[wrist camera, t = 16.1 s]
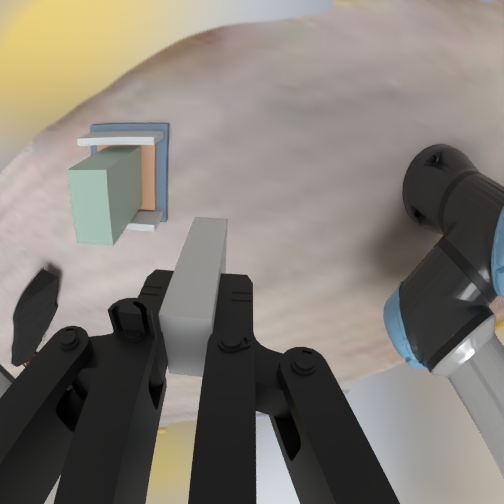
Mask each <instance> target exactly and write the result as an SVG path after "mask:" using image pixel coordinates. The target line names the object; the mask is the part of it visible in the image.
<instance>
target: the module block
mask: <svg viewBox="0 0 504 504" xmlns="http://www.w3.org/2000/svg"><path fill="white" fill-rule="evenodd" d="M67 173H68V183H69V192H70V200H71V208H72V215H73V221H74V228H75V233H76V239H77V243H85V244H97V245H108V246H114V244H115V243H116V241H117V240H118V238H119V237H120V235H121V234H122V232H123V231H124V230H125V228H126V227H127V225H128V224H129V222H130V221H131V220H132V218H133V217H134V215H135V214H136V213H137V211H138V210H139V209H140V207H141V206H142V184H141V145H116V146H108V147H106V148H104V149H102V150H100V151H99V152H97V153H95V154H93V155H92V156H90V157H88V158H86V159H85V160H83V161H81V162H80V163H78V164H76V165H75V166H73V167H72V168H70V169H68V170H67Z"/></svg>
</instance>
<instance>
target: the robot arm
mask: <svg viewBox="0 0 504 504" xmlns="http://www.w3.org/2000/svg"><path fill="white" fill-rule="evenodd" d="M403 200H404V204H405V208H406V210H407V212H408V214H409V215H410V216H411V218H412V219H413V220H414V221H415V222H416V223H417V224H419V225H420V226H421V227H423V228H424V229H427V230H429V231H432V232H436V233H439V234H442V235H443V237H442V238H441V239H440V240H439V242H438V243H437V244H436V245H435V246H434V247H433V249H432V250H431V251H430V252H429V253H428V255H427V256H426V257H425V258H424V259H423V260H422V261H421V263H420V264H419V265H418V266H417V267H416V268H415V269H414V270H413V271H412V273H411V274H410V275H409V276H408V277H407V278H406V279H405V280H404V281H402V282H401V283H400V284H399V286H398V288H397V290H396V291H395V292H394V293H393V294H392V295H391V296H390V298H389V299H388V300H387V301H386V303H385V306H384V314H383V317H384V323H385V327H386V330H387V333H388V335H389V337H390V339H391V341H392V343H393V345H394V347H395V348H396V350H397V352H398V353H399V354H400V356H401V357H402V358H405V360H406V362H407V363H408V364H409V365H410V366H411V367H413V368H415V369H424V368H426V367H427V368H428V370H429V371H430V373H431V374H432V375H436V376H444V377H446V378H448V380H449V381H450V383H451V385H452V386H453V388H454V389H455V391H456V392H457V394H458V396H459V397H460V399H461V401H462V402H463V404H464V405H465V407H466V409H467V410H468V412H469V414H470V416H471V417H472V419H473V421H474V422H475V424H476V426H477V428H478V430H479V431H480V433H481V435H482V437H483V439H484V440H485V442H486V444H487V446H488V448H489V450H490V452H491V454H492V455H493V458H494V459H495V461H496V463H497V465H498V467H499V469H500V471H501V473H502V476H503V477H504V346H503V345H502V343H501V342H500V341H499V339H498V338H497V336H496V334H495V323H496V316H495V314H494V313H493V312H492V311H491V309H490V308H489V305H490V303H491V302H492V301H493V300H494V299H495V298H496V297H497V296H498V295H499V296H502V297H504V186H502V185H500V184H499V183H497V182H495V181H494V180H492V179H490V178H488V177H487V176H485V175H483V174H481V173H480V172H479V171H478V170H477V169H476V167H475V166H474V165H473V164H472V162H471V161H470V160H469V159H468V157H467V156H466V155H465V154H463V153H462V152H461V151H459V150H457V149H455V148H453V147H451V146H448V145H434V146H431V147H428V148H427V149H425V150H423V151H422V152H421V153H420V154H419V155H418V156H417V157H416V158H415V159H414V160H413V162H412V163H411V165H410V167H409V169H408V171H407V173H406V176H405V180H404V185H403ZM227 221H228V219H219V218H201V217H195V218H194V221H193V223H192V226H191V228H190V231H189V233H188V236H187V239H186V241H185V244H184V246H183V249H182V251H181V254H180V257H179V259H178V262H177V265H176V267H175V270H174V271H169V270H155V271H154V272H152V273H151V274H150V275H149V276H148V277H147V279H146V281H145V283H144V285H143V287H142V289H141V292H140V295H139V296H138V298H126V299H122V300H119V301H117V302H116V303H114V304H112V305H111V307H110V308H109V309H108V313H109V316H110V320H111V323H112V326H113V330H114V332H113V333H112V334H108V335H102V336H92V337H89V336H88V334H87V332H86V331H85V330H84V329H83V328H81V327H77V326H68V327H65V328H63V329H60V330H59V331H58V332H57V333H55V334H54V335H53V336H52V338H51V339H50V340H49V341H48V342H47V343H46V344H45V345H44V347H43V348H42V349H41V350H40V351H39V352H38V353H37V354H36V356H35V357H34V358H33V359H32V360H31V361H30V363H29V364H28V365H27V366H26V367H25V369H24V370H23V371H22V372H21V373H20V375H19V376H18V377H17V378H16V379H15V381H14V382H13V383H12V384H11V386H10V387H9V388H8V389H7V391H6V392H5V393H4V394H3V396H2V397H1V398H0V504H44V502H45V500H46V499H47V497H48V495H49V494H50V492H51V490H52V488H53V487H54V485H55V483H56V482H57V480H58V478H59V476H60V475H61V477H60V481H59V485H58V488H57V492H56V496H55V500H54V504H145V503H146V496H147V489H148V483H149V477H150V471H151V465H152V459H153V453H154V448H155V442H156V436H157V431H158V426H159V421H160V416H161V411H162V406H163V401H164V396H165V392H166V387H167V386H166V377H165V374H166V369H167V365H168V369H169V373H172V374H180V375H190V376H200V377H203V379H202V387H201V394H200V402H199V410H198V418H197V426H196V435H195V443H194V452H193V461H192V470H191V480H190V490H189V500H188V504H256V411H259V412H262V413H265V414H268V415H269V417H270V420H271V423H272V426H273V429H274V431H275V435H276V437H277V440H278V443H279V446H280V449H281V452H282V455H283V457H284V460H285V463H286V466H287V469H288V471H289V474H290V477H291V480H292V483H293V485H294V488H295V490H296V493H297V496H298V499H299V501H300V504H400V503H399V501H398V499H397V497H396V495H395V493H394V491H393V489H392V487H391V485H390V483H389V481H388V479H387V477H386V475H385V473H384V472H383V469H382V467H381V465H380V463H379V461H378V459H377V457H376V455H375V453H374V451H373V450H372V448H371V446H370V444H369V442H368V440H367V438H366V436H365V434H364V432H363V430H362V428H361V427H360V424H359V422H358V421H357V419H356V417H355V415H354V413H353V411H352V409H351V407H350V405H349V403H348V401H347V399H346V398H345V396H344V394H343V392H342V390H341V388H340V386H339V384H338V382H337V381H336V379H335V377H334V375H333V373H332V371H331V369H330V367H329V365H328V364H327V362H326V360H325V359H324V357H323V356H322V355H321V354H320V353H318V352H317V351H315V350H314V349H310V348H307V347H295V348H292V349H289V350H287V351H286V352H285V353H284V354H282V353H279V352H275V351H272V350H270V349H267V348H265V347H264V346H262V345H261V344H260V343H259V342H258V341H257V340H256V338H255V336H254V333H253V283H252V282H251V280H250V279H249V277H248V276H247V275H240V274H225V270H226V245H227Z"/></svg>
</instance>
